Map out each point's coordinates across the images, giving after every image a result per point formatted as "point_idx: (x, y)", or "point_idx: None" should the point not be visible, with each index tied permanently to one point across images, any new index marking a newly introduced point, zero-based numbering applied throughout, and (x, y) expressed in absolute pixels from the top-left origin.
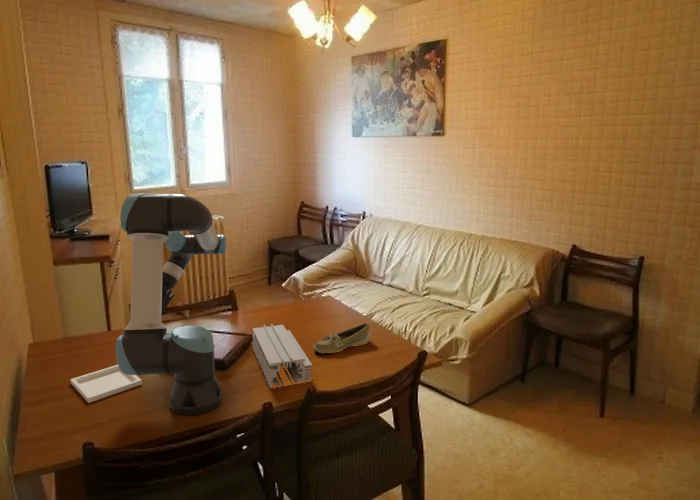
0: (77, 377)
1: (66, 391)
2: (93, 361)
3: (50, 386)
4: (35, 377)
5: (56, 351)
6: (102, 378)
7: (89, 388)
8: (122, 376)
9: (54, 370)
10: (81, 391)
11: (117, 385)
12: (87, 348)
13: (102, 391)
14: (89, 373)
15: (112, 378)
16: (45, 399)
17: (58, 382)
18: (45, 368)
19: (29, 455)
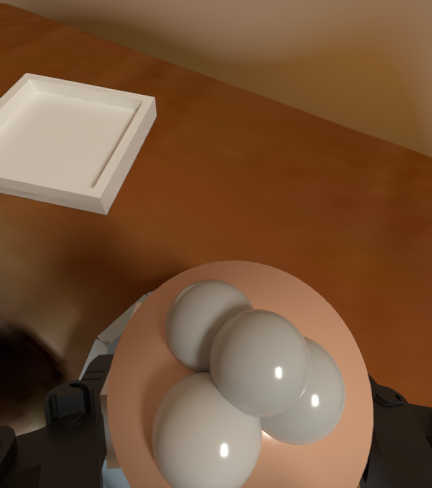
0: (146, 106)
1: None
2: (250, 205)
3: (200, 101)
4: (274, 107)
5: (413, 191)
6: (101, 147)
7: (87, 112)
8: (51, 176)
9: (279, 136)
10: (72, 82)
11: (23, 144)
12: (375, 248)
13: (41, 117)
14: (137, 126)
15: (72, 158)
16: (152, 77)
17: (203, 114)
18: (308, 133)
19: (13, 13)
